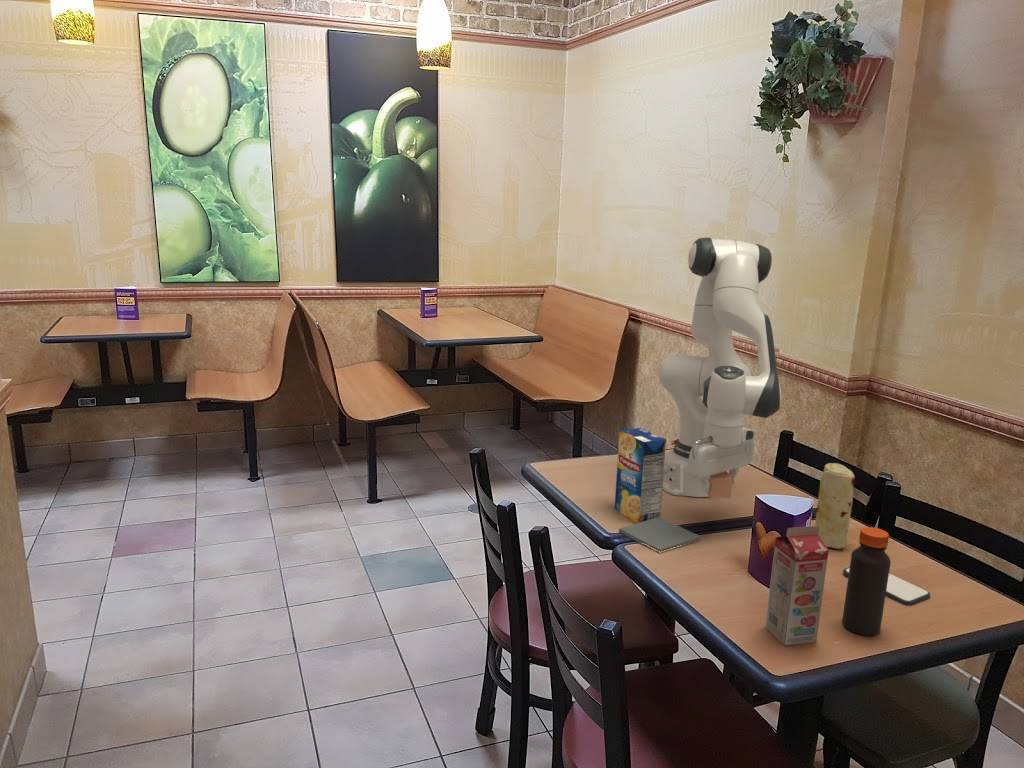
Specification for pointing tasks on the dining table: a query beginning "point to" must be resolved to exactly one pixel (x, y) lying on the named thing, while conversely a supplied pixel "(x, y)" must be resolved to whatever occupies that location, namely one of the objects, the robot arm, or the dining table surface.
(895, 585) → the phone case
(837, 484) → the food model
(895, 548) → the dining table surface
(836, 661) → the dining table surface
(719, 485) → the cube
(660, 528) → the coaster
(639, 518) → the blue tall cardboard box
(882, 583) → the bottle
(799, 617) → the juice carton
